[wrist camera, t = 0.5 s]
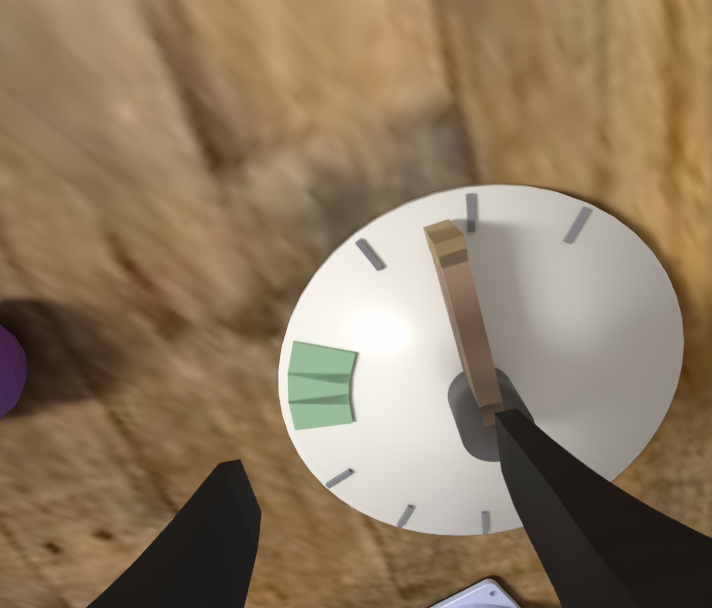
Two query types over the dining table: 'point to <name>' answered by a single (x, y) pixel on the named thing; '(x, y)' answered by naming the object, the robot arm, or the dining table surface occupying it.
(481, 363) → the tuning pointer
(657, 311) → the gauge dial
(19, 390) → the kendama
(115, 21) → the dining table surface
